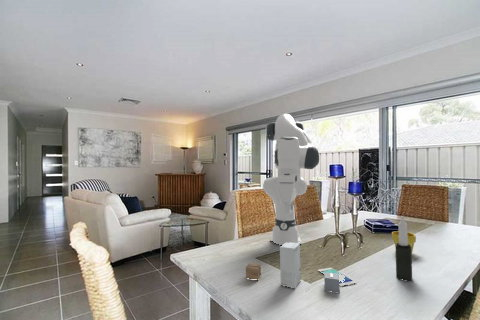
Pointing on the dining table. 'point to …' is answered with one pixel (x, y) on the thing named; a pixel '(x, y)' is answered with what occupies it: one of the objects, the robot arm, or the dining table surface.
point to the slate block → (331, 282)
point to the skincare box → (290, 264)
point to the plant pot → (410, 236)
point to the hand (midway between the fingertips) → (289, 212)
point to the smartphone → (331, 270)
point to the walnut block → (253, 271)
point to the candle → (403, 254)
